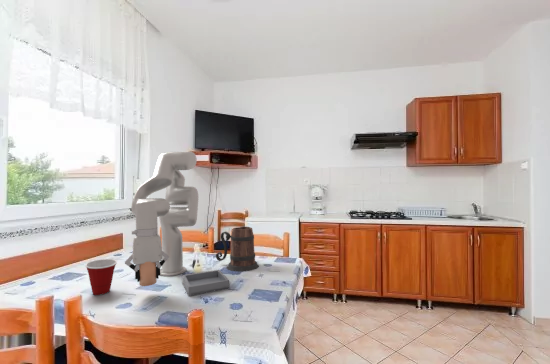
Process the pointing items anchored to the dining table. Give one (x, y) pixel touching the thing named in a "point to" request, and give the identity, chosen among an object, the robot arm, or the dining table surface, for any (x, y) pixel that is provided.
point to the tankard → (240, 250)
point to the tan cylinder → (147, 274)
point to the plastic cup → (101, 275)
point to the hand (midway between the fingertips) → (148, 278)
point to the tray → (205, 282)
